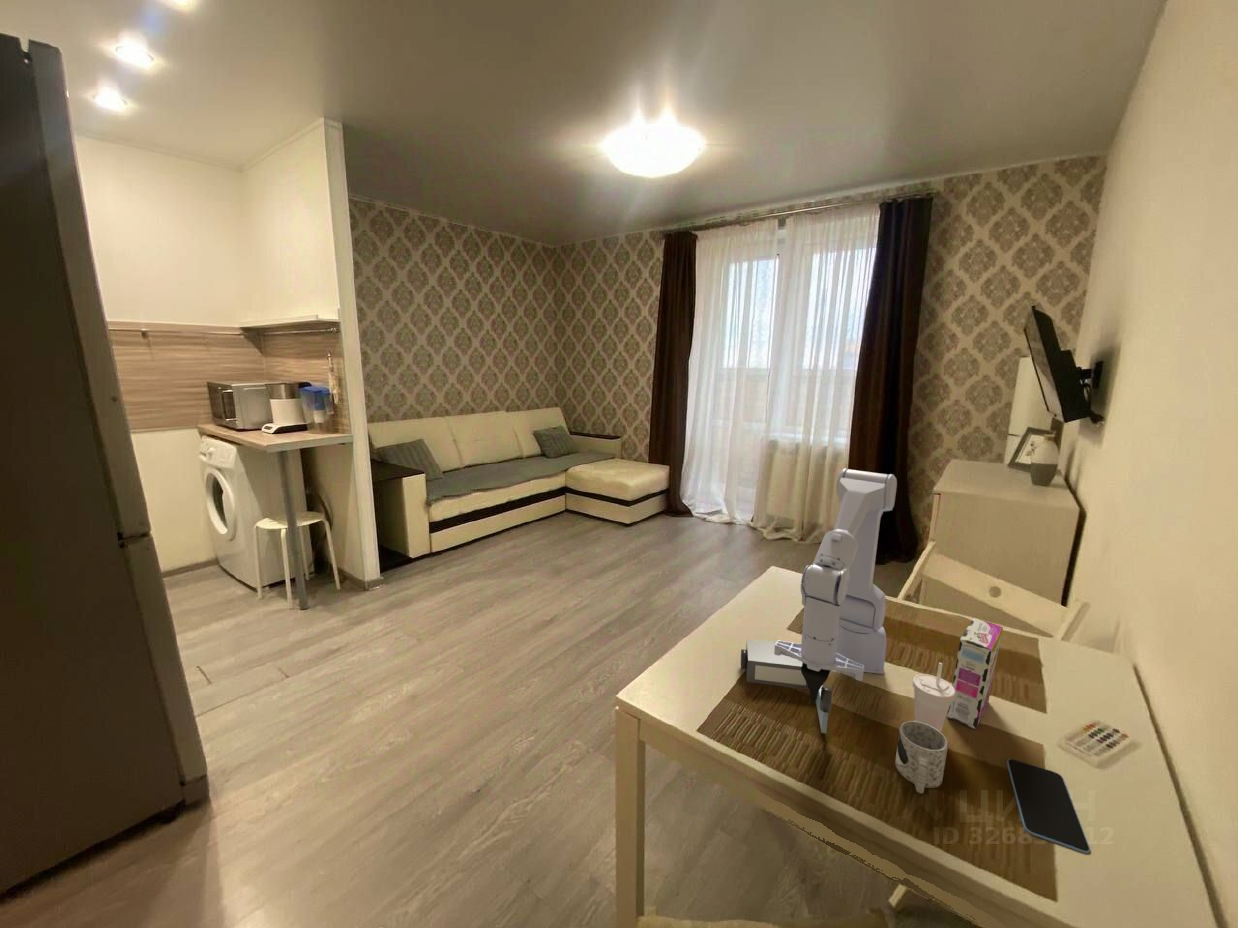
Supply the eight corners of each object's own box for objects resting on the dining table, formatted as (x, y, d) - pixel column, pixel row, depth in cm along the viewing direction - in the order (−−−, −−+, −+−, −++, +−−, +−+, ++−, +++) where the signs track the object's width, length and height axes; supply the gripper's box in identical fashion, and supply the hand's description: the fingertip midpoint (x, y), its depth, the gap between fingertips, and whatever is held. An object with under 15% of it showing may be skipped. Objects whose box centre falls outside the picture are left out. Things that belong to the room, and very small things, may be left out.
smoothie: (954, 748, 86) (966, 676, 83) (913, 743, 87) (923, 672, 84) (939, 722, 92) (949, 654, 89) (901, 717, 93) (910, 650, 90)
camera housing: (812, 666, 108) (813, 646, 107) (818, 690, 100) (820, 668, 99) (740, 658, 111) (741, 638, 110) (741, 681, 103) (742, 659, 102)
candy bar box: (978, 731, 89) (992, 650, 86) (945, 717, 93) (958, 638, 89) (990, 701, 97) (1004, 625, 93) (960, 689, 100) (972, 615, 97)
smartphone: (1025, 830, 71) (1005, 755, 83) (1024, 834, 71) (1004, 760, 84) (1094, 854, 67) (1062, 772, 80) (1093, 859, 67) (1061, 777, 80)
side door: (810, 688, 101) (814, 651, 99) (820, 689, 100) (823, 653, 98) (818, 732, 89) (822, 691, 87) (829, 734, 89) (833, 693, 87)
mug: (895, 748, 86) (900, 715, 84) (941, 764, 82) (947, 729, 81) (893, 792, 77) (898, 756, 76) (944, 811, 74) (950, 774, 73)
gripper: (771, 630, 87) (766, 698, 90) (863, 656, 79) (854, 730, 82) (782, 612, 92) (777, 677, 95) (868, 635, 85) (860, 704, 88)
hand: (813, 700), depth 89 cm, fingers closed
